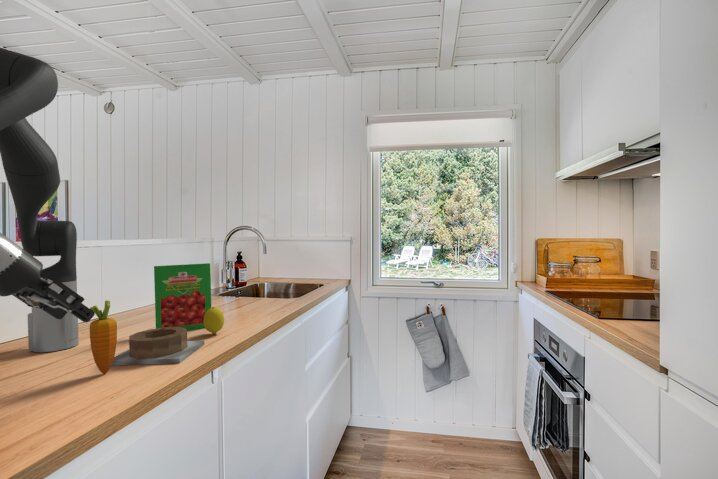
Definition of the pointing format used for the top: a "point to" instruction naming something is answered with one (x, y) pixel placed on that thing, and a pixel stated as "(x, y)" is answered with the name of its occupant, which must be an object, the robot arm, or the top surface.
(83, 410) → the top surface
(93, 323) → the carrot
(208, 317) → the lemon
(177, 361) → the collar board
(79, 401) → the top surface
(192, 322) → the tomato puree packet
